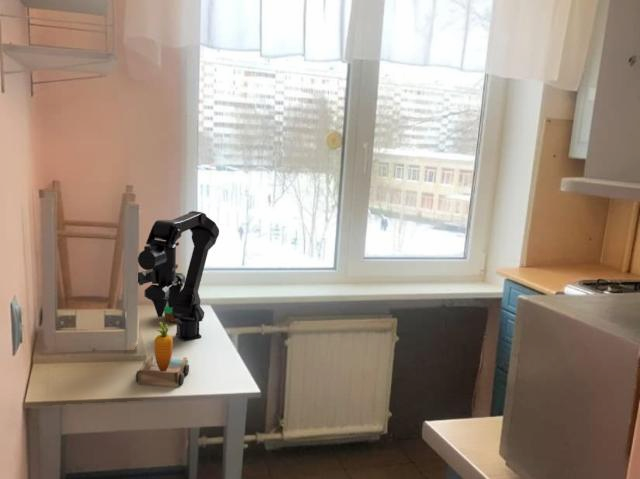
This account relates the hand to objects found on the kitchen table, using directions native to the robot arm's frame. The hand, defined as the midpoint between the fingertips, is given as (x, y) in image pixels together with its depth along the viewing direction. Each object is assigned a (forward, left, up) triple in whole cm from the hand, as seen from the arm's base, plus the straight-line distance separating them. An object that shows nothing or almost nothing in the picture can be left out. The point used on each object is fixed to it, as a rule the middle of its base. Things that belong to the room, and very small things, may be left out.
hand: (165, 312), depth 181 cm
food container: (-14, -26, -13) cm, 32 cm away
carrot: (+8, +16, -12) cm, 21 cm away
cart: (+6, +14, -13) cm, 20 cm away
